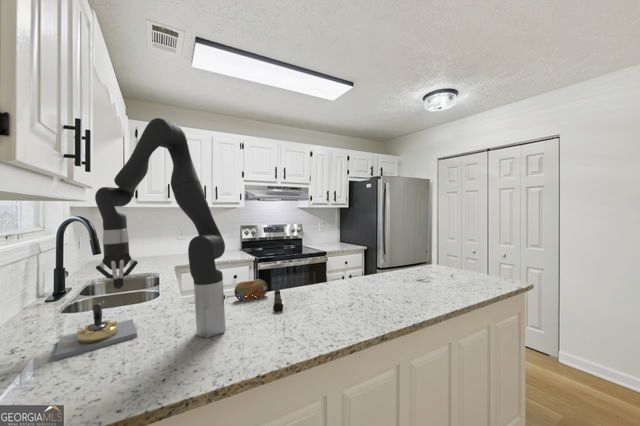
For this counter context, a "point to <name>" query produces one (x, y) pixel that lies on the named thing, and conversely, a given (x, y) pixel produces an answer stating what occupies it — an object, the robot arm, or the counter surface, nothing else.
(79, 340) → the lever with gold dial
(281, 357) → the counter surface
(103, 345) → the base plate
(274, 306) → the hand tool
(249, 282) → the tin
